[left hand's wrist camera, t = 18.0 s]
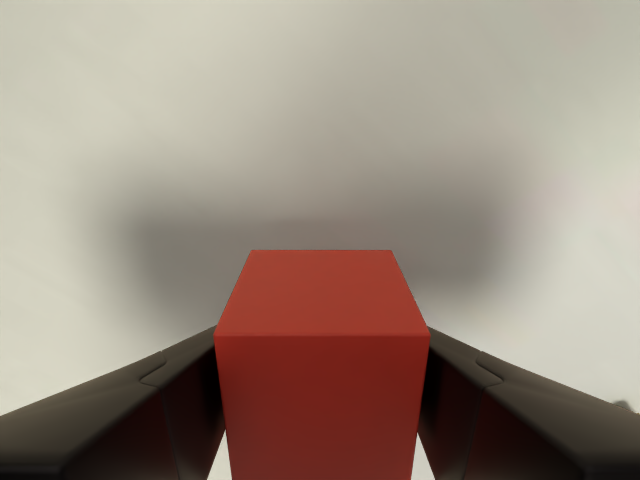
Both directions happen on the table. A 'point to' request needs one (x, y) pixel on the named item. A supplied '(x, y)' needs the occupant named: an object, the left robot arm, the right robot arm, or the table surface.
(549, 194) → the table surface
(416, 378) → the brick
